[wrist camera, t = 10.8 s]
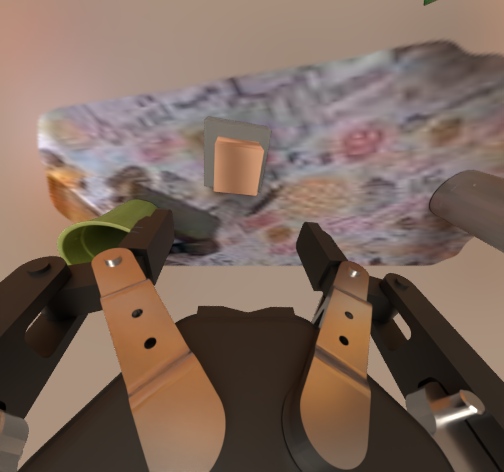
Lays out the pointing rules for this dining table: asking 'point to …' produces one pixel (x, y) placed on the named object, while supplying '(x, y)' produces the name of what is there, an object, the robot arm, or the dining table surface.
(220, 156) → the terracotta cube
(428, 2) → the stack of blocks
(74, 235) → the plant pot
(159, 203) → the dining table surface
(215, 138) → the grey base block
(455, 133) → the dining table surface
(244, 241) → the dining table surface
